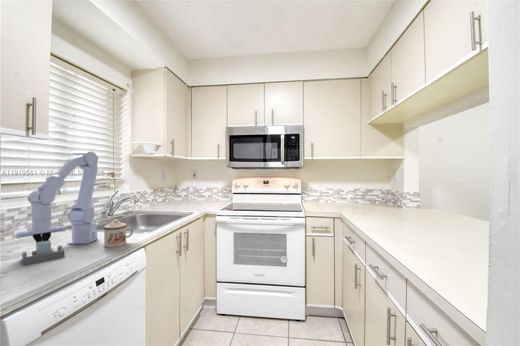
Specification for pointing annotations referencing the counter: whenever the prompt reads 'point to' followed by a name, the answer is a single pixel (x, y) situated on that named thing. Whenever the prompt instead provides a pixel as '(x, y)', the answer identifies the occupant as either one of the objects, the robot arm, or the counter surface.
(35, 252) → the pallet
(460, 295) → the counter surface
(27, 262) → the dock
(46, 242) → the pale blue cube
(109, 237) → the teacup with lid
